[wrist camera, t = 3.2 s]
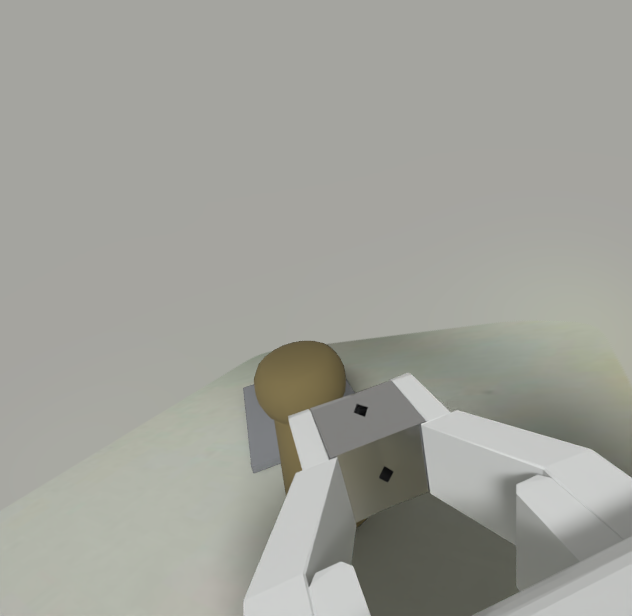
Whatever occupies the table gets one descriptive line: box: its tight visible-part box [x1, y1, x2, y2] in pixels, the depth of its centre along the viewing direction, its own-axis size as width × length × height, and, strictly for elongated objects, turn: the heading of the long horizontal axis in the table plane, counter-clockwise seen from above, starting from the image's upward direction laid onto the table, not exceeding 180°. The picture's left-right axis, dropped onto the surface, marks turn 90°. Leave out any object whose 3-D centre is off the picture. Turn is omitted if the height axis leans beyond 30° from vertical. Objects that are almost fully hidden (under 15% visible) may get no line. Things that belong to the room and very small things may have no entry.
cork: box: [254, 341, 367, 528], centre depth 21 cm, size 6×6×11 cm
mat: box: [243, 380, 355, 473], centre depth 31 cm, size 10×11×1 cm
